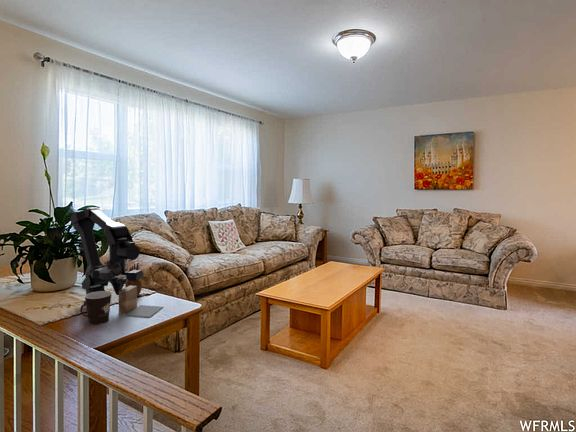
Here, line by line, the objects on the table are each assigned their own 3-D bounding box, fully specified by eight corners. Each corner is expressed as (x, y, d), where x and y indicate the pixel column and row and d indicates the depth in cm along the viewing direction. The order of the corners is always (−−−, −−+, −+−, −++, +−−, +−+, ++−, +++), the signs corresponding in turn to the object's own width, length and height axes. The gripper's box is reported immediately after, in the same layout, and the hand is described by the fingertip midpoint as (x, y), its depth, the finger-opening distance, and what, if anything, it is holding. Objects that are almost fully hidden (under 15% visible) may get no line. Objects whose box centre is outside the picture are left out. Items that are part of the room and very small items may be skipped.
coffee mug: (105, 314, 134) (105, 289, 133) (116, 321, 128) (115, 294, 128) (72, 323, 125) (71, 296, 124) (81, 330, 120) (81, 302, 119)
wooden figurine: (144, 293, 160) (144, 261, 159) (137, 297, 155) (137, 264, 153) (130, 292, 161) (130, 260, 160) (123, 296, 155) (122, 263, 154)
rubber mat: (125, 315, 134) (125, 314, 134) (140, 305, 144) (140, 305, 144) (149, 317, 133) (149, 316, 132) (163, 307, 143) (163, 306, 143)
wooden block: (118, 313, 135) (118, 291, 135) (129, 306, 143) (129, 285, 143) (126, 314, 135) (125, 292, 134) (137, 307, 143) (136, 286, 142)
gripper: (81, 259, 131) (82, 300, 132) (128, 262, 129) (128, 303, 130) (100, 253, 142) (101, 291, 143) (143, 256, 140) (144, 294, 141)
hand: (118, 294), depth 139 cm, fingers closed
